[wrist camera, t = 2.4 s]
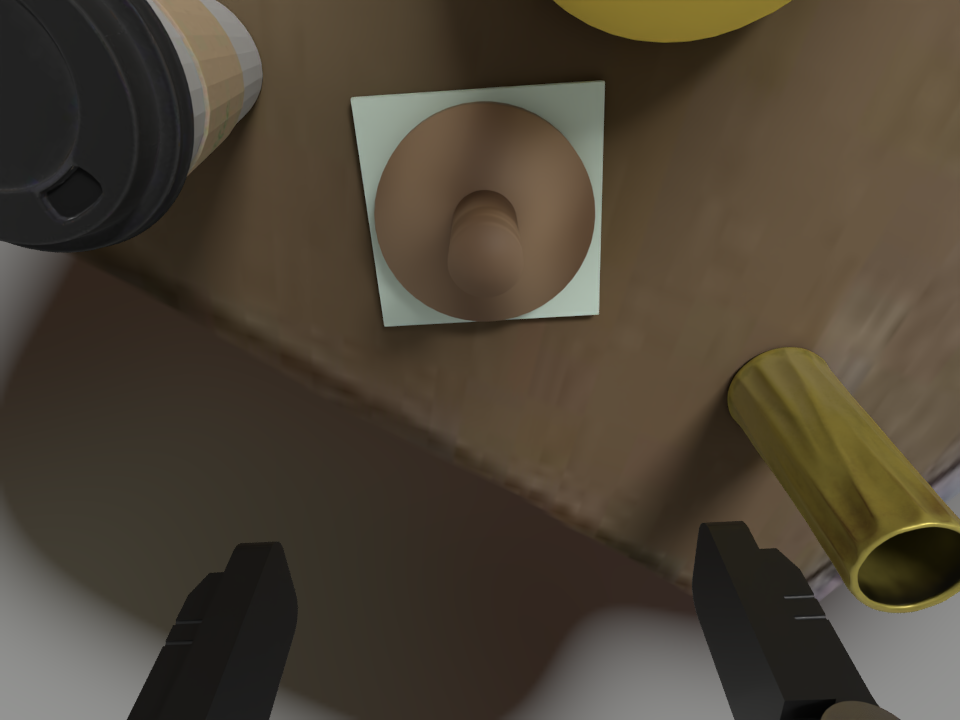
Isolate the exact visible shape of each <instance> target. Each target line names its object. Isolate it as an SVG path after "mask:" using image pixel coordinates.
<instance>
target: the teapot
mask: <svg viewBox="0 0 960 720" xmlns="http://www.w3.org/2000/svg"><path fill="white" fill-rule="evenodd" d="M553 1H554V2H556V3H557V4H558V5H559V6H560V7H562V8H563V9H564V10H565V11H567V12H568V13H570V14H571V15H573V16H575V17H576V18H578V19H580V20H581V21H583V22H585V23H586V24H588V25H590V26H593V27H595V28H597V29H600V30H602V31H605V32H607V33H609V34H612V35H616V36H620V37H624V38H628V39H632V40H639V41H649V42H661V43H666V42H687V41H694V40H699V39H704V38H710V37H715V36H718V35H721V34H724V33H727V32H730V31H733V30H736V29H739V28H741V27H743V26H746V25H748V24H750V23H752V22H754V21H756V20H758V19H760V18H762V17H764V16H766V15H769V14H771V13H773V12H775V11H776V10H778V9H779V8H781V7H783V6H784V5H786V4H787V3H789V2H790V1H792V0H553Z"/></svg>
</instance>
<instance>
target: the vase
mask: <svg viewBox="0 0 960 720" xmlns="http://www.w3.org/2000/svg"><path fill="white" fill-rule="evenodd" d="M727 402H728V409H729V412H730V414H731V416H732V418H733V419H734V420H735V421H736V422H737V423H738V424H739V425H740V426H741V428H742V429H743V431H744V432H745V434H746V435H747V437H748V438H749V440H750V441H751V443H752V444H753V446H754V447H755V449H756V450H757V452H758V453H759V454H760V456H761V457H762V459H763V460H764V461H765V463H766V464H767V465H768V466H769V468H770V469H771V471H772V472H773V473H774V475H775V476H776V478H777V479H778V481H779V482H780V484H781V485H782V486H783V488H784V489H785V491H786V492H787V493H788V495H789V496H790V498H791V499H792V501H793V502H794V504H795V506H796V507H797V509H798V510H799V512H800V513H801V515H802V516H803V517H804V519H805V520H806V522H807V523H808V525H809V527H810V528H811V530H812V532H813V533H814V535H815V536H816V538H817V540H818V541H819V543H820V544H821V546H822V548H823V549H824V551H825V552H826V554H827V555H828V557H829V558H830V560H831V561H832V563H833V565H834V566H835V568H836V570H837V571H838V573H839V574H840V576H841V578H842V580H843V582H844V583H845V585H846V587H847V588H848V589H849V591H850V592H851V593H852V594H853V595H854V596H855V597H856V598H857V599H858V600H859V601H860V602H862V603H863V604H865V605H866V606H868V607H870V608H872V609H875V610H878V611H883V612H889V613H907V612H914V611H918V610H922V609H925V608H928V607H931V606H934V605H936V604H939V603H941V602H943V601H945V600H947V599H948V598H950V597H952V596H953V595H955V594H956V593H958V592H959V591H960V519H959V518H958V517H957V516H956V515H955V514H954V512H953V511H952V510H951V509H950V508H949V507H948V506H947V505H946V504H945V502H944V501H943V500H942V499H941V498H940V497H939V496H938V494H937V493H936V492H935V491H934V490H933V489H932V487H931V486H930V485H929V484H928V483H927V482H926V481H925V479H924V478H923V477H922V476H921V475H920V474H919V473H918V472H917V470H916V469H915V468H914V467H913V466H912V465H911V464H910V462H909V461H908V460H907V459H906V458H905V456H904V455H903V454H902V453H901V452H900V451H899V450H898V448H897V447H896V446H895V445H894V444H893V443H892V442H891V441H890V439H889V438H888V437H887V436H886V435H885V433H884V432H883V431H882V430H881V429H880V427H879V426H878V425H877V424H876V423H875V422H874V421H873V419H872V418H871V417H870V416H869V415H868V414H867V413H866V411H865V410H864V409H863V408H862V407H861V406H860V405H859V404H858V402H857V401H856V400H855V399H854V398H853V397H852V396H851V394H850V393H849V392H848V391H847V390H846V388H845V387H844V386H843V385H842V383H841V382H840V381H839V380H838V378H837V377H836V376H835V375H834V374H833V373H832V371H831V370H830V369H829V367H828V366H827V364H826V362H825V361H824V360H823V359H822V358H821V357H819V356H818V355H816V354H815V353H813V352H811V351H809V350H806V349H803V348H796V347H783V348H777V349H773V350H770V351H767V352H764V353H762V354H760V355H758V356H756V357H755V358H753V359H752V360H750V361H749V362H748V363H747V364H746V365H744V366H743V367H742V368H741V369H740V370H739V371H738V373H737V374H736V375H735V377H734V378H733V380H732V382H731V385H730V387H729V390H728V396H727Z"/></svg>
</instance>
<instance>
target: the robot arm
mask: <svg viewBox="0 0 960 720" xmlns="http://www.w3.org/2000/svg"><path fill="white" fill-rule="evenodd" d="M692 591H693V599H694V605H695V609H696V613H697V616H698V619H699V621H700V624H701V627H702V630H703V632H704V636H705V638H706V641H707V644H708V646H709V649H710V652H711V655H712V658H713V660H714V663H715V666H716V669H717V672H718V675H719V677H720V680H721V683H722V686H723V689H724V691H725V694H726V697H727V700H728V702H729V705H730V708H731V711H732V713H733V717H734V719H735V720H900V719H899V718H897V717H896V716H894V715H893V714H892V713H890V712H888V711H886V710H884V709H882V708H880V707H879V706H878V704H877V703H876V702H875V700H874V698H873V697H872V695H871V694H870V692H869V690H868V688H867V687H866V685H865V683H864V681H863V680H862V678H861V676H860V675H859V673H858V671H857V670H856V667H855V665H854V664H853V662H852V660H851V659H850V657H849V655H848V653H847V651H846V650H845V648H844V646H843V644H842V643H841V641H840V639H839V637H838V636H837V634H836V632H835V630H834V628H833V627H832V625H831V623H830V622H829V620H827V619H826V617H825V613H824V611H823V609H822V608H821V606H820V604H819V602H818V600H817V599H815V598H814V593H813V592H812V590H811V588H810V586H809V585H808V583H807V581H806V579H805V577H804V576H803V574H802V572H801V570H800V569H799V568H798V567H797V566H796V565H794V564H793V563H792V562H791V561H790V560H789V559H788V558H787V557H785V556H784V555H783V554H782V553H781V552H780V551H779V550H778V549H776V548H771V549H759V548H758V546H757V544H756V542H755V540H754V538H753V536H752V534H751V532H750V530H749V528H748V527H747V525H746V524H745V523H744V522H743V521H731V522H710V523H702V524H701V525H700V528H699V533H698V540H697V548H696V556H695V563H694V571H693V579H692ZM297 607H298V605H297V597H296V593H295V589H294V585H293V582H292V578H291V575H290V571H289V568H288V564H287V560H286V558H285V553H284V550H283V547H282V545H281V543H279V542H261V543H240V544H238V545H237V546H236V548H235V549H234V551H233V553H232V556H231V558H230V560H229V562H228V564H227V567H226V569H225V571H224V572H221V573H209V574H208V575H207V576H206V577H205V578H204V579H203V580H202V582H201V583H200V584H199V585H198V586H197V587H196V588H195V589H194V590H193V591H192V592H191V593H190V594H189V595H188V597H187V599H186V601H185V603H184V605H183V607H182V609H181V611H180V613H179V615H178V617H177V619H176V625H173V627H172V629H171V631H170V633H169V635H168V637H167V639H166V645H165V646H163V647H162V649H161V652H160V654H159V656H158V658H157V660H156V662H155V664H154V666H153V668H152V670H151V672H150V674H149V676H148V678H147V680H146V682H145V684H144V686H143V688H142V690H141V692H140V694H139V696H138V698H137V700H136V702H135V704H134V706H133V708H132V710H131V712H130V715H129V717H128V719H127V720H269V718H270V714H271V711H272V708H273V704H274V701H275V697H276V694H277V691H278V687H279V683H280V680H281V677H282V674H283V670H284V667H285V663H286V660H287V656H288V653H289V650H290V646H291V643H292V639H293V636H294V633H295V629H296V624H297V614H298V608H297Z"/></svg>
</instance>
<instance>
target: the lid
mask: <svg viewBox="0 0 960 720" xmlns="http://www.w3.org/2000/svg"><path fill="white" fill-rule="evenodd" d="M374 218H375V230H376V234H377V239H378V243H379V246H380V249H381V252H382V255H383V257H384V259H385V261H386V263H387V265H388V267H389V268H390V270H391V271H392V273H393V274H394V276H395V277H396V279H397V280H398V281H399V282H400V283H401V285H402V286H403V287H404V288H405V289H406V290H407V291H408V292H409V293H410V294H412V295H413V296H414V297H415V298H416V299H418V300H419V301H421V302H422V303H423V304H425V305H426V306H428V307H430V308H432V309H434V310H436V311H438V312H440V313H443V314H445V315H448V316H451V317H454V318H458V319H462V320H469V321H477V322H491V321H500V320H506V319H510V318H515V317H518V316H521V315H524V314H526V313H529V312H531V311H533V310H535V309H537V308H539V307H541V306H543V305H544V304H546V303H547V302H548V301H550V300H551V299H553V298H554V297H555V296H556V295H557V294H559V293H560V292H561V291H562V290H563V289H564V288H565V287H566V286H567V285H568V284H569V282H570V281H571V280H572V279H573V278H574V276H575V275H576V273H577V272H578V270H579V269H580V267H581V265H582V263H583V261H584V259H585V258H586V255H587V253H588V250H589V247H590V244H591V241H592V236H593V232H594V225H595V200H594V194H593V189H592V185H591V182H590V179H589V176H588V173H587V171H586V168H585V166H584V164H583V162H582V160H581V159H580V157H579V155H578V154H577V152H576V151H575V149H574V148H573V146H572V145H571V143H570V142H569V141H568V140H567V139H566V138H565V136H564V135H563V134H562V133H561V132H560V131H559V130H558V129H556V128H555V127H554V126H553V125H552V124H551V123H549V122H548V121H546V120H545V119H543V118H542V117H540V116H539V115H537V114H535V113H533V112H531V111H528V110H526V109H524V108H521V107H518V106H514V105H511V104H507V103H500V102H493V101H477V102H470V103H463V104H459V105H456V106H452V107H448V108H446V109H444V110H442V111H439V112H437V113H435V114H433V115H431V116H430V117H428V118H427V119H425V120H423V121H422V122H421V123H419V124H418V125H417V126H416V127H415V128H413V129H412V130H411V131H410V132H409V133H408V134H407V135H406V136H405V137H404V138H403V140H402V141H401V142H400V143H399V145H398V146H397V148H396V149H395V150H394V152H393V153H392V155H391V157H390V158H389V160H388V162H387V164H386V166H385V168H384V170H383V172H382V175H381V178H380V181H379V184H378V188H377V193H376V198H375V210H374Z"/></svg>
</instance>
